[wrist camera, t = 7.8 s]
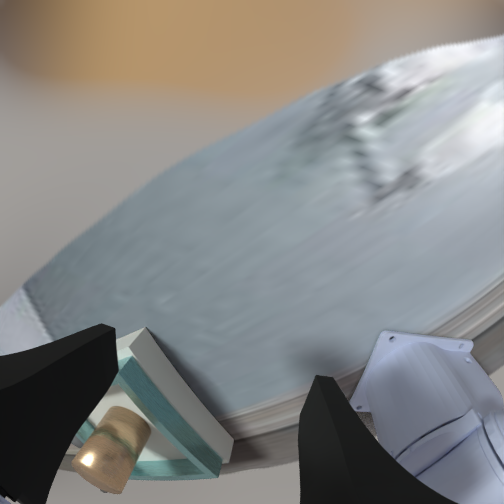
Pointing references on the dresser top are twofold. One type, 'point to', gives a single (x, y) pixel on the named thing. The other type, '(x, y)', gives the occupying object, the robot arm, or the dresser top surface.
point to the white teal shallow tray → (173, 390)
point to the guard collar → (162, 431)
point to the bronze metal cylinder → (112, 449)
